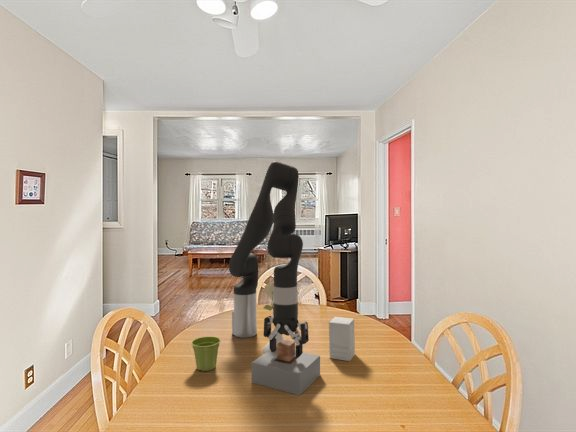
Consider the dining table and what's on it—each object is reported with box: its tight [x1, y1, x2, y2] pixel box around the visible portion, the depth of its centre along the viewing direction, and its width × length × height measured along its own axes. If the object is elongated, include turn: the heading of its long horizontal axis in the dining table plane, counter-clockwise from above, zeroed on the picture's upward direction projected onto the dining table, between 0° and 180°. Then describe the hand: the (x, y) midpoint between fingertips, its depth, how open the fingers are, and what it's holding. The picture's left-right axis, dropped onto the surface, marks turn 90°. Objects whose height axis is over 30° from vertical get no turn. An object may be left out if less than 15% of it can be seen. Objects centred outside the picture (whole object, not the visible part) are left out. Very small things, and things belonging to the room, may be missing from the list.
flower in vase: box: [262, 282, 286, 355], centre depth 129 cm, size 13×11×25 cm
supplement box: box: [328, 316, 356, 362], centre depth 127 cm, size 7×7×13 cm
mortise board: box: [250, 347, 321, 396], centre depth 110 cm, size 16×14×6 cm
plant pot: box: [190, 335, 222, 372], centre depth 119 cm, size 9×9×9 cm
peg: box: [277, 339, 296, 364], centre depth 110 cm, size 4×4×10 cm
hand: (285, 353), depth 110 cm, fingers open, 8 cm apart
